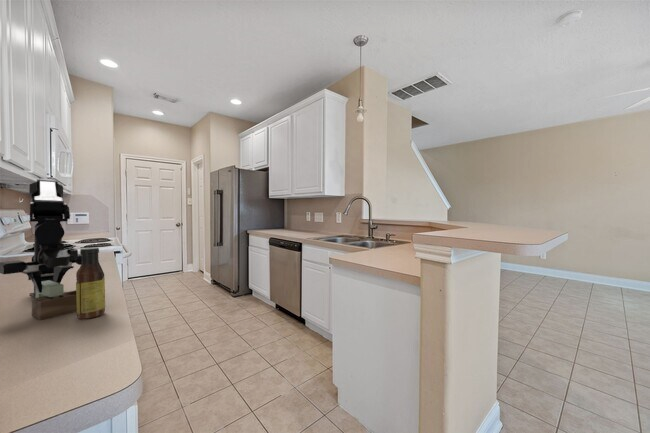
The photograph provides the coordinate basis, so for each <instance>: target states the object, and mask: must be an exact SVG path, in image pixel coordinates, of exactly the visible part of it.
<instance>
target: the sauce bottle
mask: <svg viewBox="0 0 650 433" xmlns="http://www.w3.org/2000/svg"><path fill="white" fill-rule="evenodd" d="M79 250H80V251H79V252H80V254H81V260H82V262H81V265H79V268H78V269H77V271H76V272H75V273H76V274H75V276H76V282H75V290H76V301H77V311H76V314H77V316H76V317H77V318H78V319H82V320H84V319H85V320H86V319H87V320H88V319H93V318H96V317H99V316H102V315H104V314H105V311H106V289H105V288H106V286H105V284H106V283H105V282H106V281H105V278H106V277H105V272H104V271H103V268H102V265H101V264H100V261H99V253H100V249H99V247H83V248H81V249H79Z"/></svg>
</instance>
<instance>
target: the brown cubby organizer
mask: <svg viewBox="0 0 650 433" xmlns="http://www.w3.org/2000/svg"><path fill="white" fill-rule="evenodd" d="M73 312H74V313H75V312H77V301H76V289H75V290H70V291H65V292H64V291H63V295H59V298H55V299H50V297H47V296H44V297H39V298H35V297H33V298H32V299H31V316H32V318H33V317H34V318H35V319H37V320H39V321H42V320H46V319H51V318H55V317H57V316H62V315H67V314H70V313H73Z"/></svg>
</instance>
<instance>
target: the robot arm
mask: <svg viewBox="0 0 650 433" xmlns="http://www.w3.org/2000/svg"><path fill="white" fill-rule="evenodd" d="M58 182H59V181H58V180H56V179H48V178H39V179H38V178H37V179H36V181H34V182H33V183H29V189H28V190H29V192H28V195H29V196H28V198H29V199H31V202H30V203H29V222H30V223H31V222H34V223H35V222H37V223H36V224H35V225H34V240H33V242H34V243H32V247H33V248H34V253H33V254H34V255H33V256H31V261H27V262H26V261H23V260H20V259H18V260H11V261H10V260H9V261H1V262H0V274H2V275H11V274H19V273H21V274H24V275H27V276H28V279H27V280H28V281H31V282H32V284H33V292H29V293H28V294H29V295H30V296H31V297H33V298H35V292H36V289H37V291H38V292H39V293H41V292H42V283H41V281H48V280H50V281H53V282H57V283H60V284H61V282H62V280H63V279H64V277H65V275H66V274H67V272H68V271H69V270H72V269H74V268H75V266H73V264H75V263H76V264H77V265H79V266H81V262H82V260H81V254H79V252H78V249H77V248H76V247H74V248H68V249H65V246H64V243H63V242H62V241H63V238H64V236H65V230H64V227H63V225H62V224H61V222H68V220H70V218H71V216H70V214H71V213H70V206H69V205H68V204H67V203H64V186H63V185H61V184H59V183H58Z"/></svg>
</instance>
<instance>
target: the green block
mask: <svg viewBox="0 0 650 433" xmlns="http://www.w3.org/2000/svg"><path fill="white" fill-rule="evenodd" d="M41 283H42V292H41V293H39V292H38V291H37V289H36V292H35V297H34V298H39V297H44V296H47V297H50V299H55V298H59V295H63V293H64V287H65V286H64V283H61V282H60V283H57V282H53V281H50V280H48V281H41Z"/></svg>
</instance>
